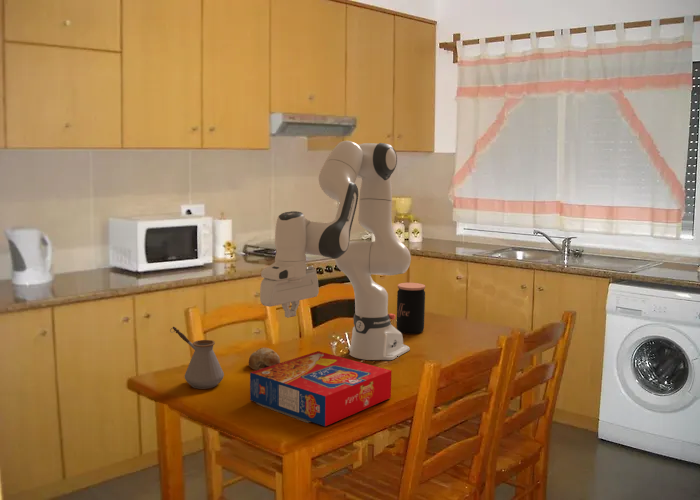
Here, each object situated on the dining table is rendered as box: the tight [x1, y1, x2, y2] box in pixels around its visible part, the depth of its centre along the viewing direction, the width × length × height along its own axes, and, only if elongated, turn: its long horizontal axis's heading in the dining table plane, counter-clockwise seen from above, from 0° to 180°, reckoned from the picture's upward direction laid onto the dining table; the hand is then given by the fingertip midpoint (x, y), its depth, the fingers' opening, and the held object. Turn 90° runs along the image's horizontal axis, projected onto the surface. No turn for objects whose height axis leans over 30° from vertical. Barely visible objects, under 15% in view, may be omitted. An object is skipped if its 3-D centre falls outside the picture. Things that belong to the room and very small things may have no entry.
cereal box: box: [249, 350, 392, 427], centre depth 201 cm, size 28×8×28 cm
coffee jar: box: [395, 282, 426, 335], centre depth 277 cm, size 11×11×18 cm
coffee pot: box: [169, 326, 225, 390], centre depth 215 cm, size 21×12×15 cm, turn 49°
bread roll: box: [248, 347, 281, 371], centre depth 231 cm, size 10×10×8 cm
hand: (290, 316), depth 206 cm, fingers closed
